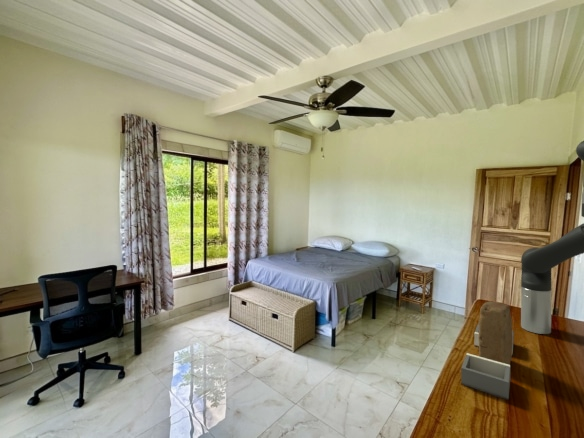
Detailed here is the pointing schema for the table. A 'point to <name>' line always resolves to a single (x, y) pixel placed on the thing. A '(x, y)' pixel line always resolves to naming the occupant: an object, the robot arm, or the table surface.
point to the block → (495, 332)
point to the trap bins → (486, 373)
